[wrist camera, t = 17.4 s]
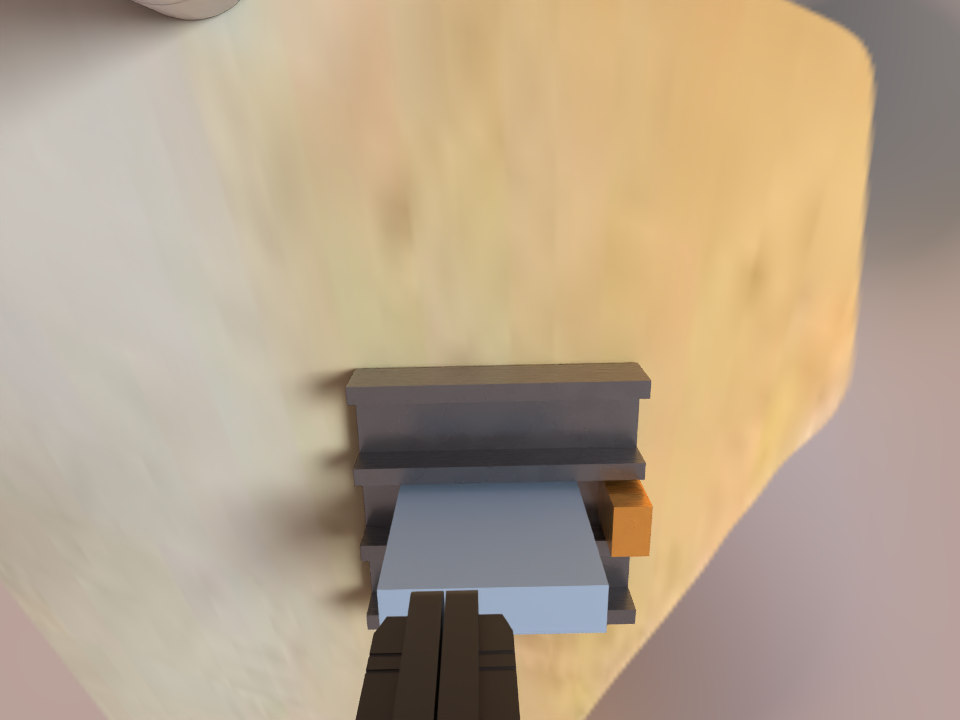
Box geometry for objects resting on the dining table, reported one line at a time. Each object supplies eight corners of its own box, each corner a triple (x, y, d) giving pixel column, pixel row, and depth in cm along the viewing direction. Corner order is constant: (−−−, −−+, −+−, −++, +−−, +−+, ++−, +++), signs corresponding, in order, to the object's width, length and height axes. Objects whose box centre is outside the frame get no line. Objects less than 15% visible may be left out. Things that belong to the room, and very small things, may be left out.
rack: (375, 596, 49) (361, 656, 43) (355, 368, 43) (337, 402, 37) (623, 591, 49) (643, 649, 43) (637, 362, 43) (662, 395, 37)
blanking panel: (404, 514, 45) (380, 637, 34) (402, 477, 44) (376, 589, 33) (573, 511, 45) (606, 632, 34) (574, 473, 44) (608, 585, 33)
